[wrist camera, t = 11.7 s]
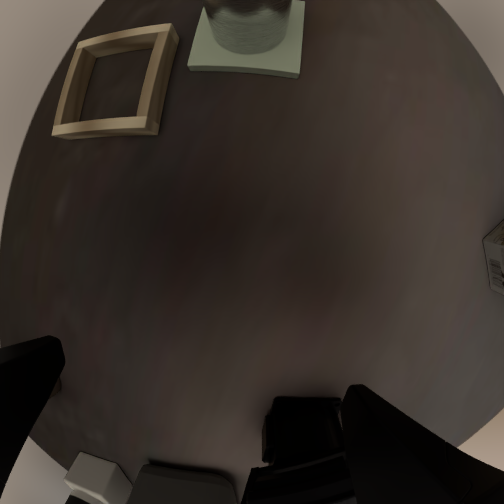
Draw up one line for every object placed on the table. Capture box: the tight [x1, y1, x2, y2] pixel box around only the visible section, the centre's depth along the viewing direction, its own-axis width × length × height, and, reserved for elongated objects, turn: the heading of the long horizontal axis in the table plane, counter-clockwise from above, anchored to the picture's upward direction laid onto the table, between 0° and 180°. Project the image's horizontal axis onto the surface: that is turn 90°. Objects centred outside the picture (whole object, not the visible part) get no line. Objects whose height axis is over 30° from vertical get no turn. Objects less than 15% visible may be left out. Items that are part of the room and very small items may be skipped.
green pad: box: [187, 0, 305, 79], centre depth 15 cm, size 8×8×1 cm
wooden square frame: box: [52, 23, 179, 140], centre depth 16 cm, size 9×9×2 cm
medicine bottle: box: [64, 452, 132, 504], centre depth 20 cm, size 7×7×12 cm
